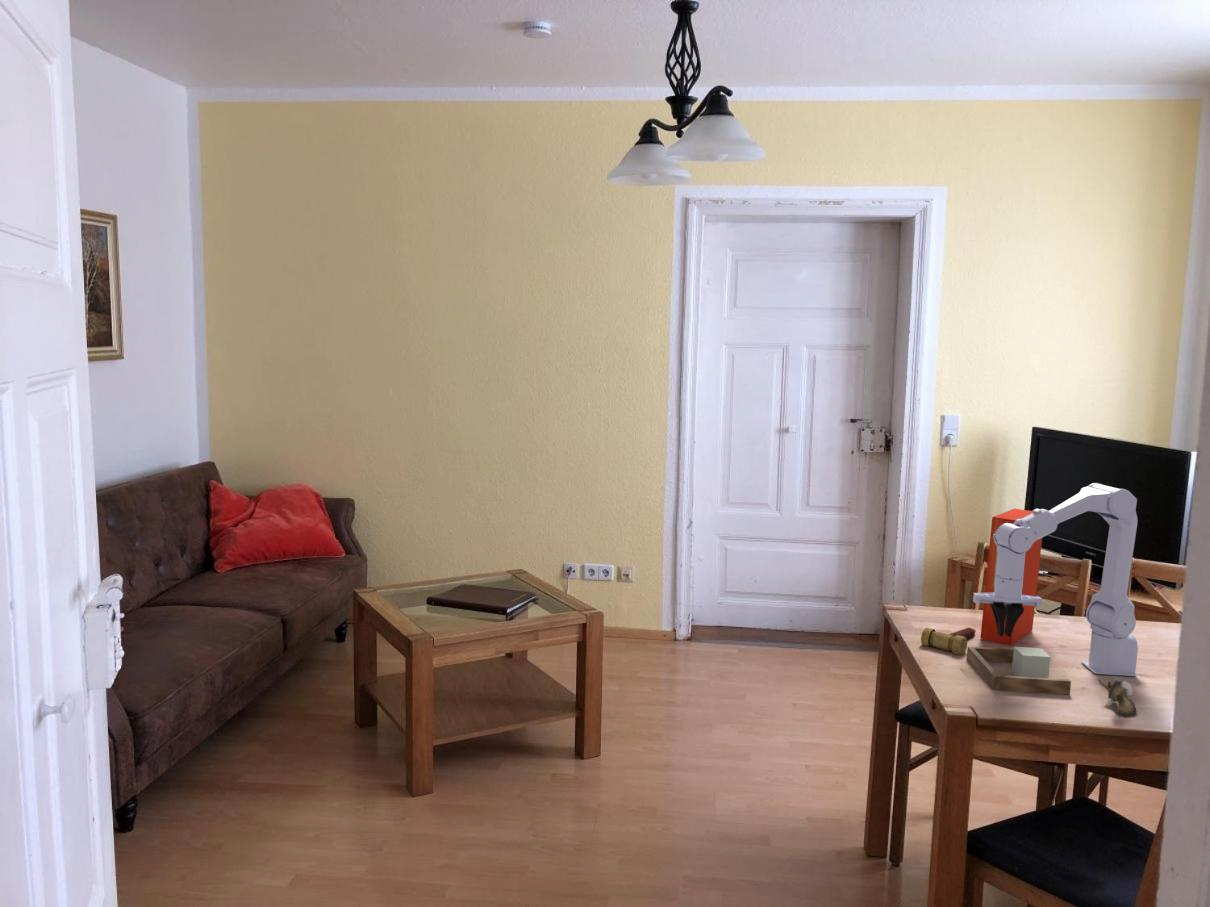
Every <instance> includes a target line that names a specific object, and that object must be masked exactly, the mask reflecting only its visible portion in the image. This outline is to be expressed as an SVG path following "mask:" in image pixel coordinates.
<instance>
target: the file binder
mask: <svg viewBox="0 0 1210 907" xmlns="http://www.w3.org/2000/svg"><path fill="white" fill-rule="evenodd" d="M1032 513H1033V510H1029V509H1028V510H1027V509H1026V510H1025V509H1021V508H1012V509H1010V510H1006V511H1004V512H1002V513H1000V514H997V515H994V516H992V517H991V528H990V536H989V537H990V538H989V545H988V556H987V567H986V578H985V589H984V593H994V590H995V579H996V568H997V556H998V552H997V545H996V543H995V542H994V538H993V535H994V534H996V531H997V529H998V528H999V527H1000V526H1001V525H1003V524H1005V523H1011V524H1013V523H1014V522H1015V520H1017V519H1022V518H1024V517H1026V516H1028V515H1030V514H1032ZM1042 543H1043V537H1042V538H1040V539H1038V540H1036V541H1035V542H1034V543H1033V544H1032V546H1031V548H1030V549H1029V550H1028V551H1026V552H1025V563H1024V574H1023V585H1022V595H1028V596H1037V590H1038V589H1037V588H1038V581H1039V571H1040V563H1041V554H1042V553H1041V551H1042ZM982 606H983V607H982V616H981V617H982V618H981V628H980V636H979V637H980V639H983V641H987V640H988V641H987V642H991V643H995V642H996V643H995V644H999V643H1000V645H1003V644H1004V646H1009V647H1012V646H1013V645H1015V644H1016V643H1018V642H1019V641H1020V640H1021V638H1022V637H1023V638H1025V637H1026V636H1027V635H1028V634H1030V633H1031V632H1032V631H1033V627H1034V618H1035V608H1036V606H1028V605H1023V606H1022V607H1023V608H1024V612H1023V614H1022V615H1021V616H1020V617H1019V619H1018V620H1017V622H1016V624H1015V626H1014V628H1013V631H1012V634H1011V637H1008V636H1007V635H1006V634H1005V624H1006V617H1005V623H1004V635H1003V636H999V635H998V634H997V625H996V620H995V617H994V614H993V611H992V608H991V606H990V603H983V605H982ZM1004 606H1005V608H1006V604H1004ZM1025 635H1026V636H1025ZM1023 638H1022V639H1023ZM1018 640H1019V641H1018ZM1014 643H1015V644H1014Z"/></svg>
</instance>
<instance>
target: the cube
mask: <svg viewBox="0 0 1210 907" xmlns="http://www.w3.org/2000/svg"><path fill="white" fill-rule="evenodd" d="M1013 649H1014V652H1013V663H1011V665H1012V666H1011V672H1012V673H1013V674H1014V676H1022V677H1039V678H1050V677H1049V676H1050V665H1051V656H1050V655H1049V654H1048V653H1047V652H1046V651H1044V650H1043V649H1042V648H1041V647H1025V646H1013Z"/></svg>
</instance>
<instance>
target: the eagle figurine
mask: <svg viewBox="0 0 1210 907" xmlns="http://www.w3.org/2000/svg"><path fill="white" fill-rule="evenodd" d="M1097 681H1098V683H1099V685H1100V686H1101V687H1103V688H1105V690H1107V692H1108V696H1107V699H1108V700H1107V701H1106V702H1105V705H1104V707H1105V708H1107V707H1111V706H1112V704H1113V703H1115V702H1117V708H1116V711H1115V714H1116V715H1117V716H1119V717H1122V718H1131V717H1134V716H1136V714H1137V708H1136V704H1135V703H1134V701H1133V700H1132V699H1131V698H1130V697H1129V696H1132V695H1133V687H1132V685H1131V684H1130V682H1128V681H1126V680H1123V681H1121V680H1119V681H1118V680H1114V682H1113V683H1111V681H1110V680H1109V681H1108V682H1107V684H1105V683H1104V682H1102V680H1101V679H1100V678H1097Z"/></svg>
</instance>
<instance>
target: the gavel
mask: <svg viewBox="0 0 1210 907" xmlns="http://www.w3.org/2000/svg"><path fill="white" fill-rule="evenodd" d="M976 632H977V631H976V629H974V628H972V627H966V628H963V629H960V630H957V631H954V632H951V633H949V634H948V633H945V632H941V631H936V630H935V629H934V628H930V627H925V628H924V629H923V631H922V633H921V636H920V642H921V645H922V646H924V647H925V646H926V647H933V648H935V647H936V649H940V650H944V651H948V652H952V654H956V655H961V656H962V655H964V654H965V653H966V652H967V648H968V640H967V639H970V638H973V637H974V636H975V634H976Z"/></svg>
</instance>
